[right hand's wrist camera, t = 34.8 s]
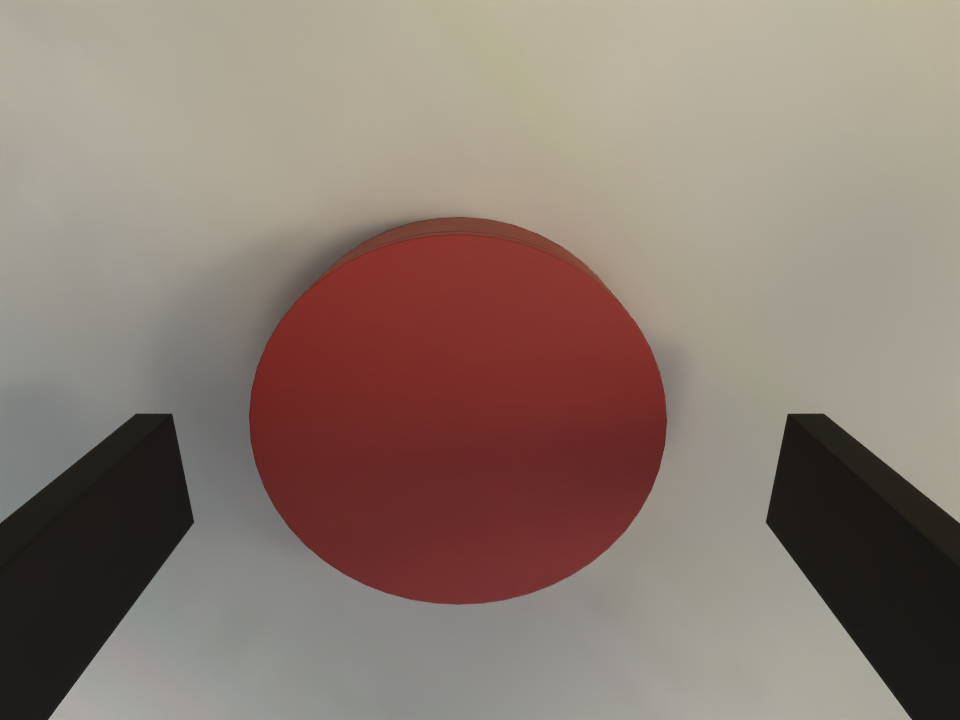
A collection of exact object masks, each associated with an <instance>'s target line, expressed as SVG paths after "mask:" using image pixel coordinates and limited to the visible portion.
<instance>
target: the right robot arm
mask: <svg viewBox="0 0 960 720" xmlns="http://www.w3.org/2000/svg"><path fill="white" fill-rule="evenodd" d="M193 523H194V519H193V514H192V510H191V505H190V500H189V495H188V490H187V485H186V480H185V475H184V470H183V465H182V460H181V455H180V450H179V445H178V440H177V435H176V430H175V426H174V421H173V416H172V414H135V415H134V416H133V417H132V418H130V419H129V420H128V421H127V422H125V423H124V424H123V425H122V426H120V427H119V428H118V429H117V430H115V431H114V432H113V433H112V434H111V435H109V436H108V437H107V438H106V439H104V440H103V441H102V442H101V443H99V444H98V445H97V446H96V447H94V448H93V449H92V450H91V451H89V452H88V453H87V454H86V455H84V456H83V457H82V458H81V459H80V460H78V461H77V462H76V463H75V464H73V465H72V466H71V467H70V468H68V469H67V470H66V471H65V472H63V473H62V474H61V475H60V476H58V477H57V478H56V479H55V480H54V481H52V482H51V483H50V484H49V485H47V486H46V487H45V488H44V489H42V490H41V491H40V492H39V493H37V494H36V495H35V496H34V497H32V498H31V499H30V500H29V501H27V502H26V503H25V504H24V505H23V506H21V507H20V508H19V509H18V510H16V511H15V512H14V513H13V514H11V515H10V516H9V517H8V518H6V519H5V520H4V521H3V522H1V523H0V720H48V719H49V718H50V716H51V715H52V714H53V712H54V711H55V710H56V708H57V707H58V705H59V704H60V703H61V701H62V700H63V699H64V697H65V696H66V695H67V693H68V692H69V691H70V689H71V688H72V687H73V685H74V684H75V682H76V681H77V680H78V678H79V677H80V676H81V674H82V673H83V672H84V670H85V669H86V668H87V666H88V665H89V664H90V662H91V661H92V660H93V658H94V657H95V655H96V654H97V653H98V651H99V650H100V649H101V647H102V646H103V645H104V643H105V642H106V641H107V639H108V638H109V637H110V635H111V634H112V633H113V631H114V630H115V628H116V627H117V626H118V624H119V623H120V622H121V620H122V619H123V618H124V616H125V615H126V614H127V612H128V611H129V610H130V608H131V607H132V606H133V604H134V603H135V601H136V600H137V599H138V597H139V596H140V595H141V593H142V592H143V591H144V589H145V588H146V587H147V585H148V584H149V583H150V581H151V580H152V579H153V577H154V576H155V574H156V573H157V572H158V570H159V569H160V568H161V566H162V565H163V564H164V562H165V561H166V560H167V558H168V557H169V556H170V554H171V553H172V552H173V550H174V549H175V547H176V546H177V545H178V543H179V542H180V541H181V539H182V538H183V537H184V535H185V534H186V533H187V531H188V530H189V529H190V527H191V526H192V524H193ZM766 523H767V524H768V526H769V527H770V529H771V530H772V531H773V533H774V534H775V535H776V537H777V538H778V539H779V541H780V542H781V543H782V545H783V546H784V547H785V549H786V550H787V552H788V553H789V554H790V556H791V557H792V558H793V560H794V561H795V562H796V564H797V565H798V566H799V568H800V569H801V570H802V572H803V573H804V574H805V576H806V577H807V579H808V580H809V581H810V583H811V584H812V585H813V587H814V588H815V589H816V591H817V592H818V593H819V595H820V596H821V597H822V599H823V600H824V601H825V603H826V604H827V606H828V607H829V608H830V610H831V611H832V612H833V614H834V615H835V616H836V618H837V619H838V620H839V622H840V623H841V624H842V626H843V627H844V628H845V630H846V631H847V633H848V634H849V635H850V637H851V638H852V639H853V641H854V642H855V643H856V645H857V646H858V647H859V649H860V650H861V651H862V653H863V654H864V655H865V657H866V658H867V660H868V661H869V662H870V664H871V665H872V666H873V668H874V669H875V670H876V672H877V673H878V674H879V676H880V677H881V678H882V680H883V681H884V682H885V684H886V685H887V687H888V688H889V689H890V691H891V692H892V693H893V695H894V696H895V697H896V699H897V700H898V701H899V703H900V704H901V705H902V707H903V708H904V710H905V711H906V712H907V714H908V715H909V716H910V718H911V719H912V720H960V523H959V522H957V521H956V520H955V519H954V518H952V517H951V516H950V515H949V514H947V513H946V512H945V511H944V510H942V509H941V508H940V507H939V506H937V505H936V504H935V503H934V502H933V501H931V500H930V499H929V498H928V497H926V496H925V495H924V494H923V493H921V492H920V491H919V490H918V489H916V488H915V487H914V486H913V485H911V484H910V483H909V482H908V481H906V480H905V479H904V478H903V477H902V476H900V475H899V474H898V473H897V472H895V471H894V470H893V469H892V468H890V467H889V466H888V465H887V464H885V463H884V462H883V461H882V460H880V459H879V458H878V457H877V456H876V455H874V454H873V453H872V452H871V451H869V450H868V449H867V448H866V447H864V446H863V445H862V444H861V443H859V442H858V441H857V440H856V439H854V438H853V437H852V436H851V435H849V434H848V433H847V432H846V431H845V430H843V429H842V428H841V427H840V426H838V425H837V424H836V423H835V422H833V421H832V420H831V419H830V418H828V417H827V416H826V415H825V414H788V416H787V421H786V426H785V430H784V435H783V440H782V445H781V450H780V455H779V460H778V465H777V470H776V475H775V480H774V485H773V490H772V495H771V500H770V505H769V510H768V514H767V519H766Z"/></svg>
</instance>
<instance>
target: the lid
mask: <svg viewBox="0 0 960 720" xmlns="http://www.w3.org/2000/svg"><path fill="white" fill-rule="evenodd" d="M249 420H250V436H251V444H252V449H253V453H254V458H255V463H256V466H257V469H258V472H259V474H260V477H261V480H262V483H263V485H264V488H265V490H266V492H267V493H268V495H269V497H270V499H271V501H272V503H273V505H274V507H275V508H276V510H277V511H278V513H279V514H280V515H281V517H282V518H283V520H284V521H285V522H286V524H287V525H288V527H289V528H290V529H291V530H292V531H293V532H294V533H295V534H296V535H297V537H298V538H299V539H300V540H301V541H302V542H303V543H304V544H305V545H306V546H307V547H308V548H309V549H311V550H312V551H313V552H314V553H315V554H317V555H318V556H319V557H320V558H321V559H322V560H324V561H325V562H327V563H328V564H330V565H331V566H333V567H334V568H336V569H337V570H339V571H340V572H342V573H343V574H345V575H347V576H349V577H351V578H353V579H355V580H357V581H359V582H361V583H363V584H364V585H367V586H370V587H372V588H375V589H377V590H380V591H383V592H385V593H388V594H392V595H396V596H399V597H403V598H407V599H411V600H417V601H423V602H429V603H439V604H456V605H460V604H482V603H488V602H495V601H502V600H507V599H511V598H515V597H519V596H523V595H527V594H530V593H533V592H535V591H538V590H541V589H543V588H546V587H549V586H551V585H553V584H555V583H557V582H559V581H561V580H563V579H565V578H567V577H569V576H571V575H573V574H574V573H576V572H577V571H579V570H581V569H582V568H584V567H585V566H587V565H588V564H590V563H591V562H593V561H594V560H595V559H596V558H597V557H599V556H600V555H601V554H602V553H603V552H605V551H606V550H607V549H608V548H609V547H610V546H611V545H612V544H613V543H614V542H615V541H616V540H617V539H618V538H619V537H620V536H621V535H622V534H623V533H624V532H625V531H626V529H627V528H628V527H629V525H630V524H631V523H632V521H633V520H634V518H635V517H636V516H637V514H638V513H639V512H640V510H641V508H642V506H643V504H644V503H645V501H646V499H647V497H648V495H649V493H650V492H651V489H652V487H653V484H654V482H655V479H656V476H657V474H658V471H659V468H660V464H661V460H662V455H663V451H664V446H665V437H666V424H667V417H666V403H665V394H664V389H663V385H662V380H661V376H660V371H659V369H658V366H657V364H656V361H655V359H654V356H653V353H652V351H651V348H650V346H649V345H648V343H647V341H646V339H645V338H644V336H643V334H642V332H641V330H640V329H639V327H638V325H637V324H636V323H635V321H634V320H633V319H632V317H631V316H630V315H629V314H628V312H627V311H626V310H625V309H624V307H623V306H622V305H621V303H620V302H619V301H618V300H617V299H616V298H615V296H614V295H613V294H612V293H611V292H610V290H609V289H608V288H607V287H606V286H605V285H604V283H603V282H602V281H601V280H600V279H599V277H597V276H596V275H595V274H594V273H593V272H592V271H591V270H590V269H589V268H588V267H587V266H586V265H585V264H584V263H583V262H582V261H581V260H579V259H578V258H577V257H575V256H574V255H572V254H571V253H570V252H568V251H567V250H566V249H564V248H563V247H561V246H560V245H558V244H556V243H554V242H552V241H550V240H548V239H547V238H545V237H543V236H541V235H539V234H537V233H534V232H531V231H528V230H526V229H523V228H520V227H518V226H515V225H511V224H506V223H502V222H497V221H493V220H487V219H476V218H464V217H460V218H439V219H432V220H426V221H421V222H415V223H410V224H407V225H404V226H401V227H398V228H395V229H392V230H389V231H386V232H384V233H382V234H380V235H378V236H376V237H374V238H372V239H370V240H368V241H365V242H363V243H362V244H360V245H359V246H357V247H356V248H354V249H353V250H351V251H350V252H349V253H347V254H346V255H344V256H343V257H341V258H340V259H339V260H338V261H337V262H336V263H335V264H334V265H333V266H331V267H330V268H329V269H328V270H327V271H326V272H325V273H324V274H323V275H322V276H321V277H320V278H319V279H318V280H317V281H316V282H315V283H314V284H313V285H312V286H311V287H310V288H309V289H308V290H307V291H306V292H305V293H304V294H303V295H302V296H301V297H300V298H299V299H298V300H297V301H296V302H295V304H294V305H293V306H292V307H291V308H290V310H289V311H288V312H287V313H286V314H285V316H284V317H283V318H282V319H281V321H280V322H279V324H278V326H277V327H276V329H275V331H274V332H273V334H272V336H271V337H270V339H269V341H268V342H267V345H266V347H265V349H264V352H263V354H262V357H261V359H260V362H259V364H258V366H257V370H256V374H255V379H254V383H253V387H252V391H251V402H250V413H249Z"/></svg>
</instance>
